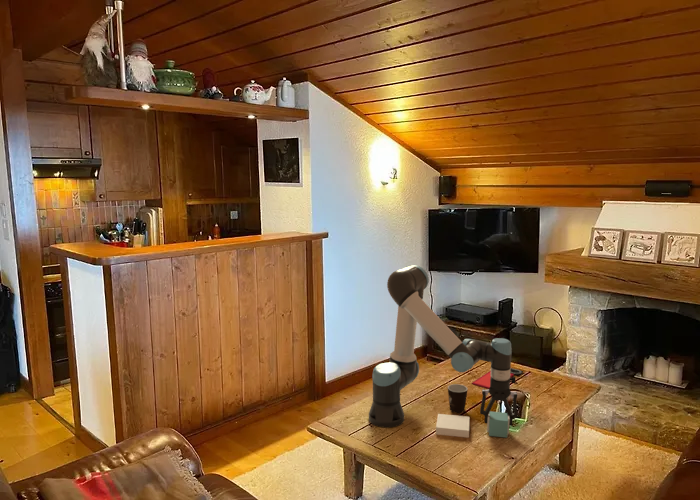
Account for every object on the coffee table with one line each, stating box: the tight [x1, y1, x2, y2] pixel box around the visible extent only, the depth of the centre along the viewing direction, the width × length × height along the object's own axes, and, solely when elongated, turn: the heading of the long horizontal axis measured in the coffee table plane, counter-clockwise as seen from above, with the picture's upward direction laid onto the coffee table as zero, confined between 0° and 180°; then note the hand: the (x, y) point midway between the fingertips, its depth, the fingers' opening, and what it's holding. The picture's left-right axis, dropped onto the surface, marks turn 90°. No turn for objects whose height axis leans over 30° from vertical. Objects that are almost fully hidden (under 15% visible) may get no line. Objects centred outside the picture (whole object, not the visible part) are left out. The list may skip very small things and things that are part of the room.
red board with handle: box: [471, 367, 524, 390], centre depth 273 cm, size 30×3×15 cm
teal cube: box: [488, 410, 509, 438], centre depth 218 cm, size 7×7×7 cm
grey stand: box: [435, 413, 470, 439], centre depth 223 cm, size 13×12×3 cm
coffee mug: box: [447, 383, 468, 414], centre depth 241 cm, size 12×9×10 cm
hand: (497, 431), depth 219 cm, fingers closed on teal cube, 7 cm apart
